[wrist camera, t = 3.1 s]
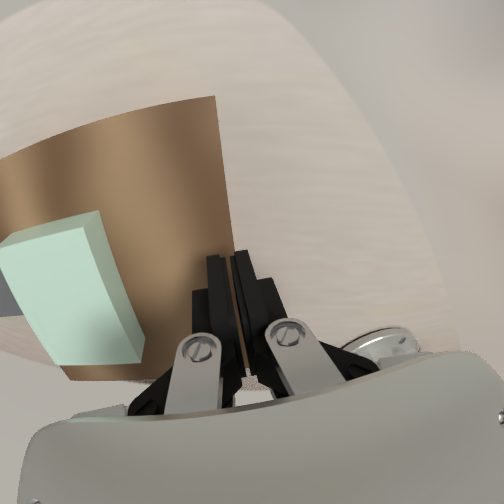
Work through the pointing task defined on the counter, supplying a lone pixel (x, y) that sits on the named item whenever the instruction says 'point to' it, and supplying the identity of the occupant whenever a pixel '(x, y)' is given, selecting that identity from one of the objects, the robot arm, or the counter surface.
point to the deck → (136, 213)
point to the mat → (7, 300)
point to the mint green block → (72, 292)
